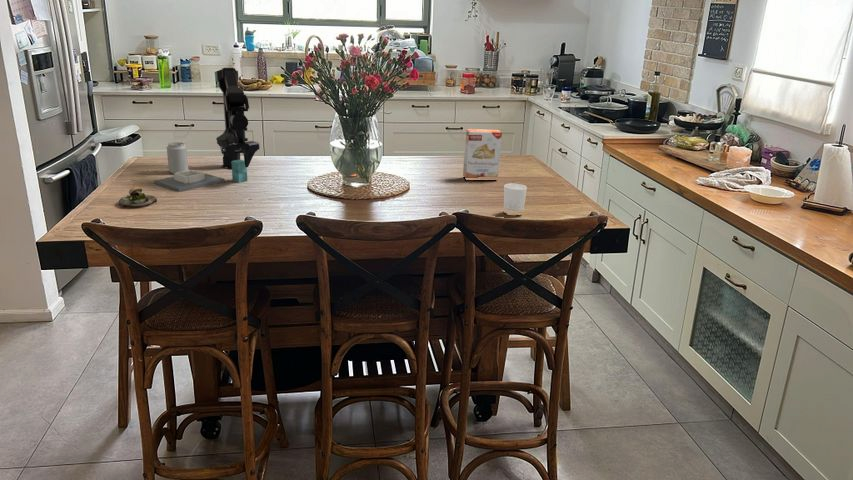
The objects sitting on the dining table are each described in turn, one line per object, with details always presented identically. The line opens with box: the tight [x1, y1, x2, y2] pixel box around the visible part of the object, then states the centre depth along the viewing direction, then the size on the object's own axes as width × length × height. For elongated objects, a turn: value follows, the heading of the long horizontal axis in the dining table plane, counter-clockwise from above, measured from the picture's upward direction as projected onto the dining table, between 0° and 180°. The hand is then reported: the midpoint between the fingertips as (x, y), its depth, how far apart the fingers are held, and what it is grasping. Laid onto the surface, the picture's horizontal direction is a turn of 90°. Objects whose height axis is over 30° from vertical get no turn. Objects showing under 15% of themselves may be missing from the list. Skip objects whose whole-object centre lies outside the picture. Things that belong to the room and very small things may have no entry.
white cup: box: [503, 183, 528, 211], centre depth 233 cm, size 8×8×10 cm
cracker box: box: [462, 128, 503, 178], centre depth 275 cm, size 14×6×21 cm, turn 99°
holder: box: [153, 169, 226, 193], centre depth 253 cm, size 20×16×4 cm
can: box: [166, 141, 189, 175], centre depth 265 cm, size 8×8×12 cm
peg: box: [231, 159, 248, 184], centre depth 258 cm, size 4×4×8 cm
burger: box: [118, 183, 158, 209], centre depth 226 cm, size 12×12×8 cm
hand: (239, 165), depth 257 cm, fingers open, 9 cm apart
